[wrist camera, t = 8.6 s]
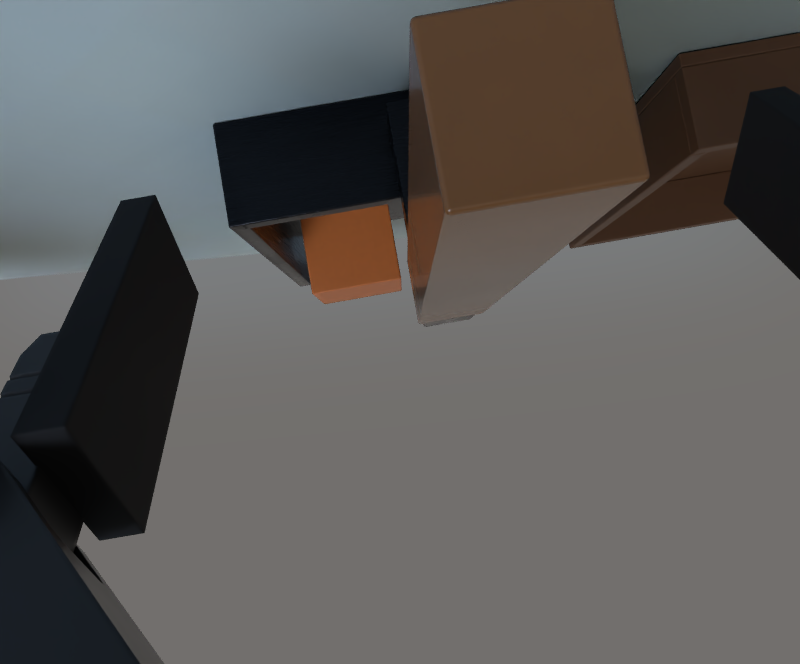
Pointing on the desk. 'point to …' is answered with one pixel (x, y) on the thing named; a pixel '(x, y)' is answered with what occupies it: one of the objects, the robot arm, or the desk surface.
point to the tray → (695, 136)
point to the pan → (456, 151)
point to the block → (351, 254)
